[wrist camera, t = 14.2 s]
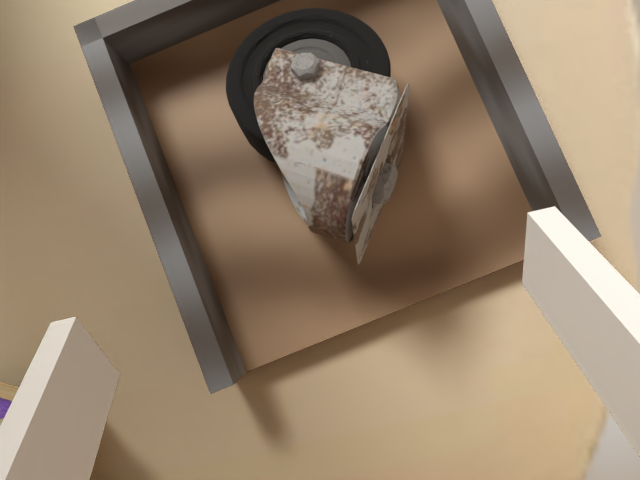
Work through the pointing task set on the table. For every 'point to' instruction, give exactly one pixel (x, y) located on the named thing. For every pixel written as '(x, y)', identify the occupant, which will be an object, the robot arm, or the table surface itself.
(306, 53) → the caster wheel
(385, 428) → the table surface
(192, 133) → the square tray
